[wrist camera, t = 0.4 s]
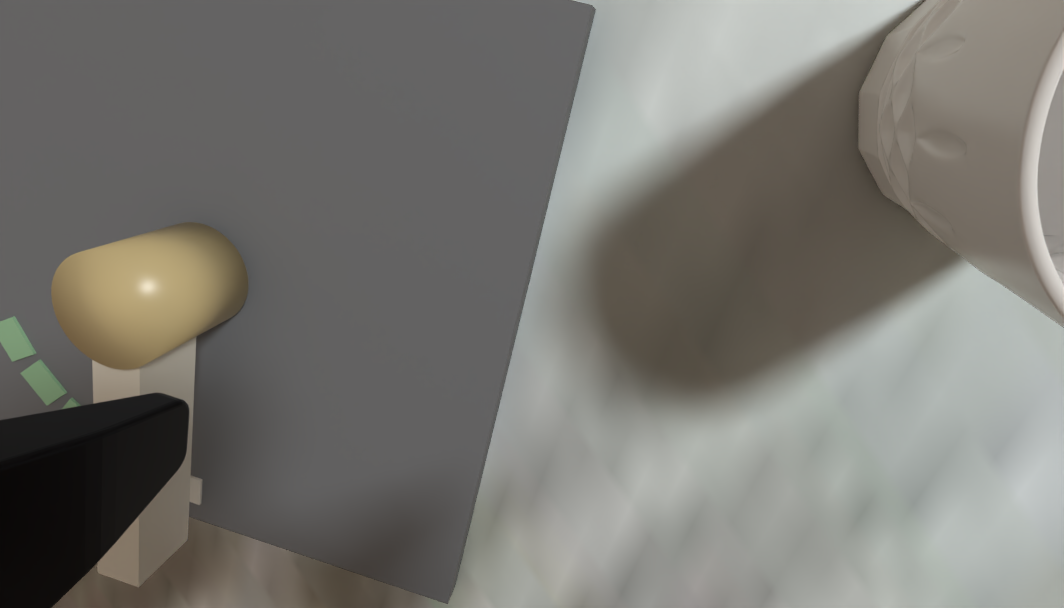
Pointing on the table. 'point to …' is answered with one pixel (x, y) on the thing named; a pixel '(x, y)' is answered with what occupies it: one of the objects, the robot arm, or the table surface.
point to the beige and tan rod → (149, 349)
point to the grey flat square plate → (300, 238)
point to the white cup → (977, 135)
